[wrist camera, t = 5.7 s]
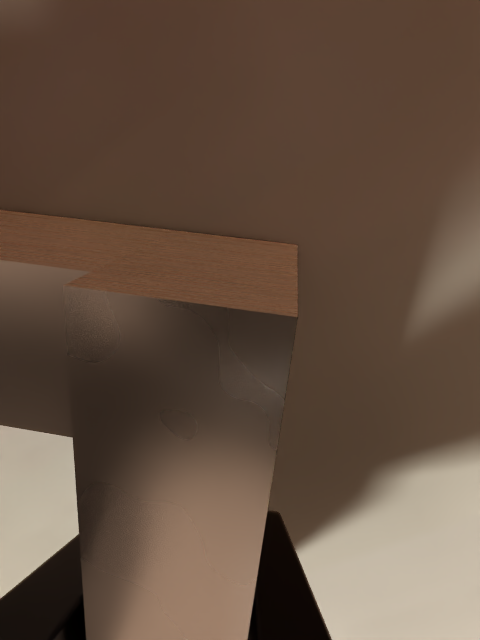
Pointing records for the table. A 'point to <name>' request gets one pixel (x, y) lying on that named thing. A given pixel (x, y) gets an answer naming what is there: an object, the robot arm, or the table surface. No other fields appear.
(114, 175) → the table surface
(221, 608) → the pale grey angled bracket
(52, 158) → the table surface
